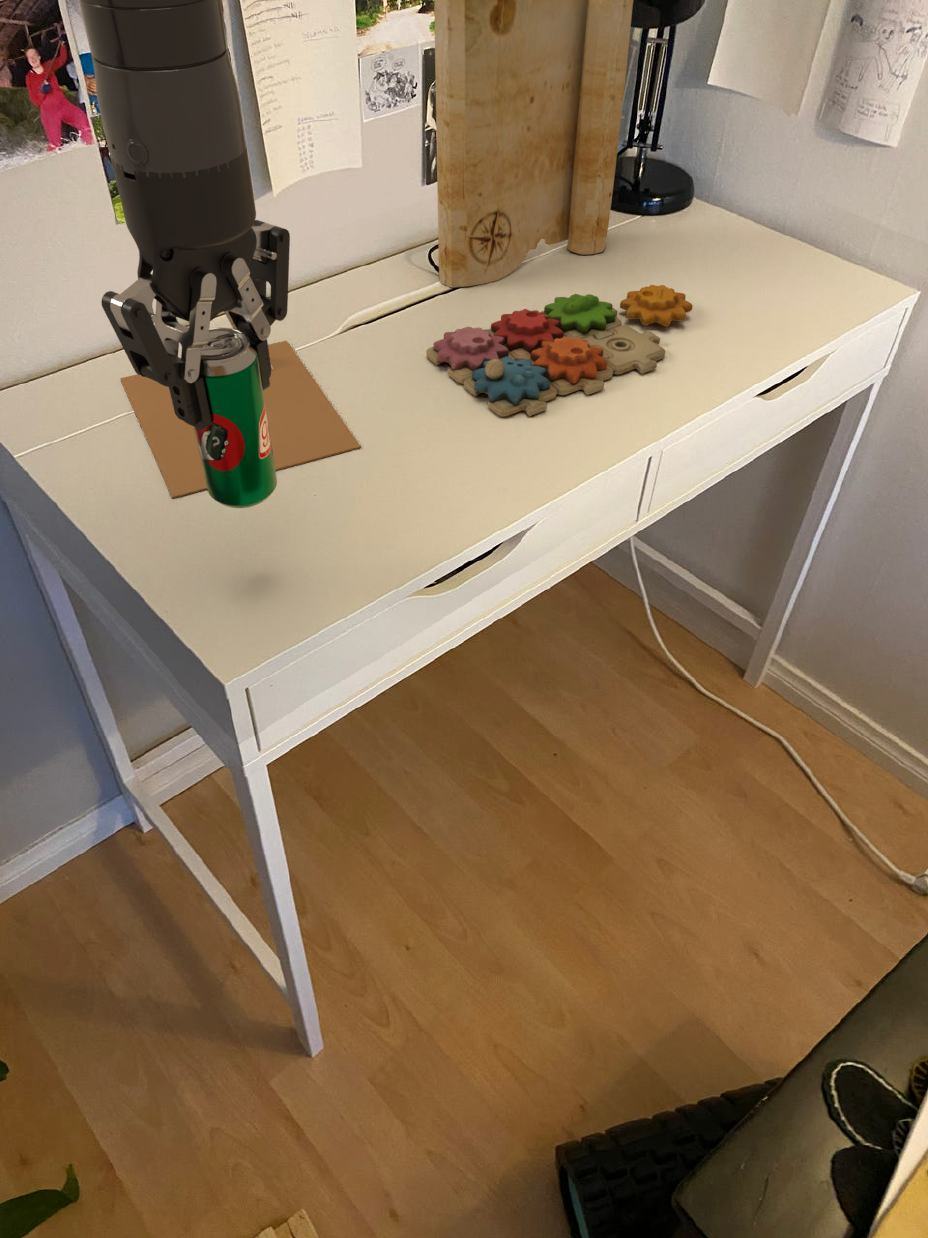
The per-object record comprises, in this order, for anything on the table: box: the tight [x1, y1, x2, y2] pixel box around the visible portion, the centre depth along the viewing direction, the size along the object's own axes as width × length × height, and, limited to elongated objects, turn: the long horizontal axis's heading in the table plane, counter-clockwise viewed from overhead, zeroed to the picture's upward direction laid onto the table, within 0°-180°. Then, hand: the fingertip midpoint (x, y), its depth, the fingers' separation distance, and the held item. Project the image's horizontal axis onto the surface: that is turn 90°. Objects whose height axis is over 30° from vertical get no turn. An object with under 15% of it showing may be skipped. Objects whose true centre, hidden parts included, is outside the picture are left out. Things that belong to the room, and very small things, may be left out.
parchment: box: [433, 0, 634, 289], centre depth 108 cm, size 23×6×30 cm, turn 117°
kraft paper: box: [120, 340, 362, 500], centre depth 95 cm, size 18×22×1 cm
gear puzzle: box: [425, 284, 694, 417], centre depth 102 cm, size 31×16×4 cm, turn 123°
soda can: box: [194, 327, 278, 509], centre depth 66 cm, size 5×5×12 cm
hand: (226, 403), depth 65 cm, fingers closed on soda can, 5 cm apart
